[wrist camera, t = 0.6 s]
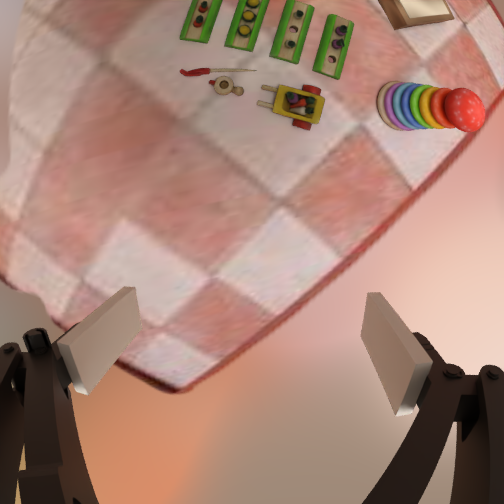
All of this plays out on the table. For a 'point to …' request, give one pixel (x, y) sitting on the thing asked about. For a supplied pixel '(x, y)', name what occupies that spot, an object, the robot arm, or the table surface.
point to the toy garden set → (274, 50)
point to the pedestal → (415, 12)
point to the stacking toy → (429, 107)
